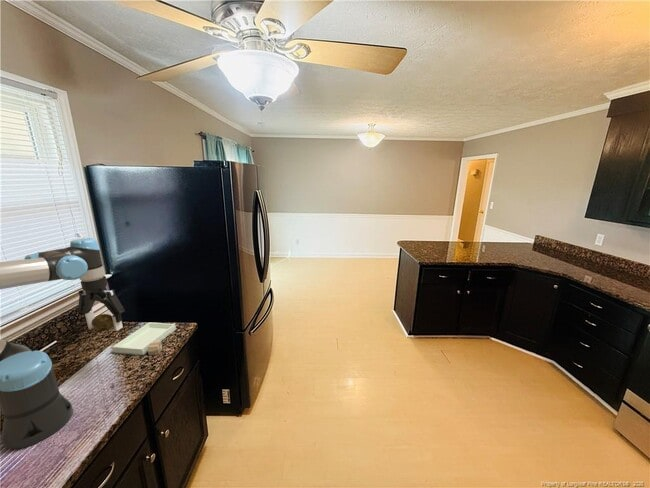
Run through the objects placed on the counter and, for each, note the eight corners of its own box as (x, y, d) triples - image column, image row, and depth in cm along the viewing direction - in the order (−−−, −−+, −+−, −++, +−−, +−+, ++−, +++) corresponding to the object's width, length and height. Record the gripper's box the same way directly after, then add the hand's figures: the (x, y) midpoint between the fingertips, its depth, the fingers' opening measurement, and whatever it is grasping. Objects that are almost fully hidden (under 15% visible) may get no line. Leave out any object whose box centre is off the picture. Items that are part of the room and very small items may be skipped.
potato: (122, 320, 114) (118, 303, 112) (115, 335, 103) (110, 317, 101) (98, 325, 111) (93, 308, 109) (88, 341, 99) (82, 322, 98)
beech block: (158, 354, 116) (157, 346, 115) (148, 355, 115) (147, 347, 115) (162, 348, 120) (160, 340, 119) (152, 349, 119) (151, 342, 118)
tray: (143, 355, 115) (142, 349, 115) (113, 352, 117) (112, 346, 117) (176, 329, 136) (175, 324, 135) (150, 327, 138) (149, 322, 137)
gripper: (128, 275, 103) (139, 324, 109) (77, 273, 107) (89, 321, 112) (111, 282, 96) (123, 335, 101) (56, 280, 100) (71, 331, 105)
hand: (105, 328), depth 107 cm, fingers closed on potato, 12 cm apart
